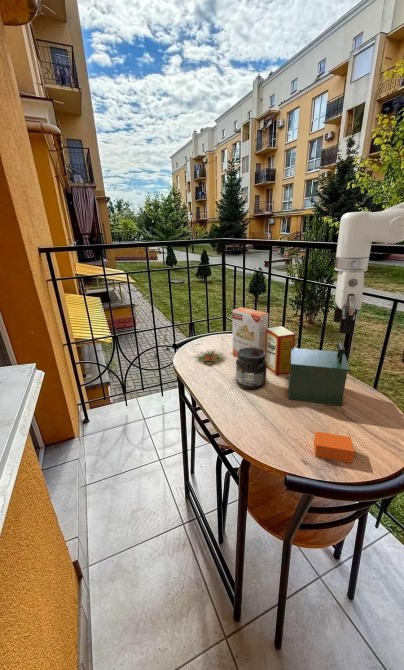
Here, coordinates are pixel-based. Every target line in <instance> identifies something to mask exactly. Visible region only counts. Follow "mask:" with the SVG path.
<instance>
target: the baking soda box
mask: <svg viewBox="0 0 404 670" xmlns="http://www.w3.org/2000/svg"><path fill="white" fill-rule="evenodd" d="M295 341H296V333H295V332H293V331H291V330H289V329H288V328H286V327H284V326H283V325H280V326H273V327H268V328H266V345H265V353H266V359H265V360H266V361H267V366H266V369H268V370H269V371H271V373H273V374H274V375H275V376H276V377H277V376H282V375H283V376H284V375H288V374H289V371H290V359H291V348H295V345H296V343H295Z"/></svg>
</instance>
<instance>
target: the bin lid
mask: <svg viewBox="0 0 404 670" xmlns="http://www.w3.org/2000/svg"><path fill="white" fill-rule="evenodd" d="M336 349H337V351H335V350H320V349H308V348H297V347H294V348H291V366H293V367H304V368H314V369H324V370H334V371H345V372H347V373H351V371H352V369H351V367H350V364H349V361H348V360H347V357H346V349H345V346H344V344H343V343H342V342H338V343H336Z"/></svg>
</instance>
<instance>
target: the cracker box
mask: <svg viewBox="0 0 404 670" xmlns="http://www.w3.org/2000/svg"><path fill="white" fill-rule="evenodd" d="M266 328H269V312H265V311H261V310H256V309H251V308H247V307H243V306H241V307H237V308H234V309H232V356H234V357H237V353H238V351H239V350H241V349H243V348H258V349H261V350H263V351H264V352H265V345H266Z"/></svg>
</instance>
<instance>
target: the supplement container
mask: <svg viewBox="0 0 404 670" xmlns="http://www.w3.org/2000/svg"><path fill="white" fill-rule="evenodd" d="M265 359H266V353H265V352H264V351H263V350H261V349H258V348H243V349H241V350H239V351H238V353H237V359H236V360H235V369H236V370H235V372H236V373H235V381H236V385H237V386H238V387H239V388H241V389H242V390H246V391H247V390H248V391H257V390H261V389H263V388H264V387H265V386H266V385H267V384H266V383H267V367H266V366H267V361H266V360H265Z"/></svg>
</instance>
